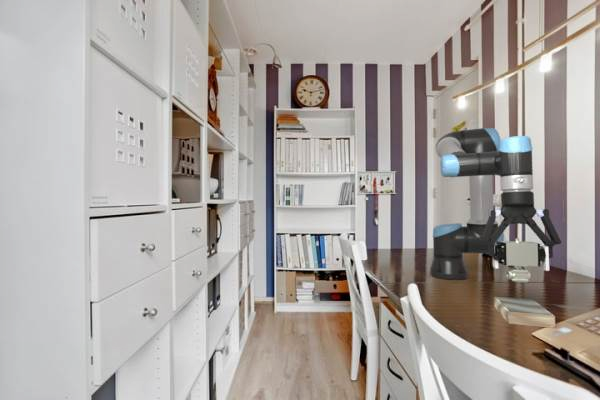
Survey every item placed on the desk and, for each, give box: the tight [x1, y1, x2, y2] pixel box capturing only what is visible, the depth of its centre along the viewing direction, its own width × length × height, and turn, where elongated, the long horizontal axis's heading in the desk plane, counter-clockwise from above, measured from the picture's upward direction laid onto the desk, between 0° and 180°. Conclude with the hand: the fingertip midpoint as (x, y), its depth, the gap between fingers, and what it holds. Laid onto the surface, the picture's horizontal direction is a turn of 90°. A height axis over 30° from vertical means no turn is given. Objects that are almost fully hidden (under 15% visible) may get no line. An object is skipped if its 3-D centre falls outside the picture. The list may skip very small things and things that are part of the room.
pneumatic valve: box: [491, 238, 546, 283], centre depth 84 cm, size 6×12×12 cm, turn 78°
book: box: [493, 296, 556, 328], centre depth 83 cm, size 14×10×3 cm
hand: (519, 268), depth 83 cm, fingers closed on pneumatic valve, 11 cm apart
